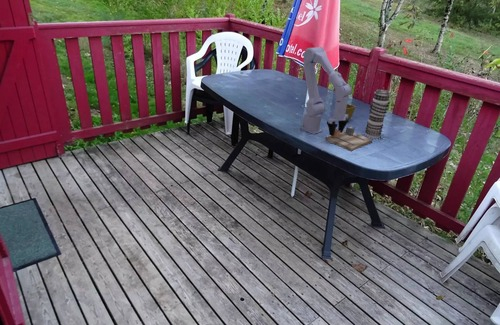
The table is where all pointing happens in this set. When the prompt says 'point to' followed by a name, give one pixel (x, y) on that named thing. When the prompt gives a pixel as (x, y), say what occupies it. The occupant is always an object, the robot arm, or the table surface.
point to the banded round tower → (377, 113)
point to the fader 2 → (350, 130)
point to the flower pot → (350, 110)
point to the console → (349, 141)
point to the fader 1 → (336, 133)
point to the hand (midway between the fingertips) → (335, 133)
